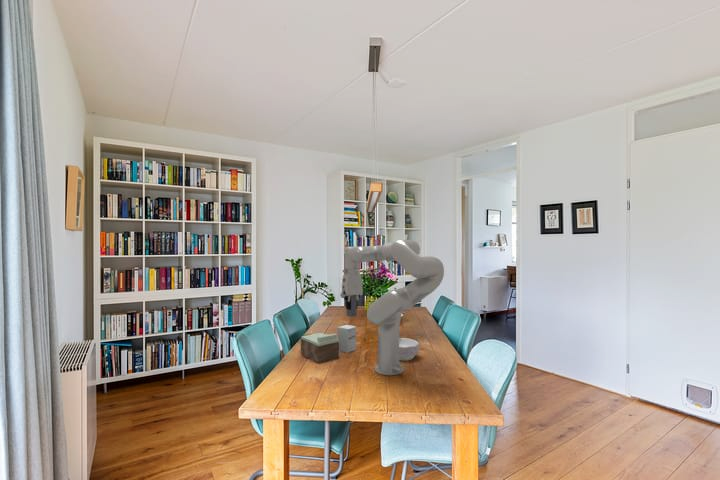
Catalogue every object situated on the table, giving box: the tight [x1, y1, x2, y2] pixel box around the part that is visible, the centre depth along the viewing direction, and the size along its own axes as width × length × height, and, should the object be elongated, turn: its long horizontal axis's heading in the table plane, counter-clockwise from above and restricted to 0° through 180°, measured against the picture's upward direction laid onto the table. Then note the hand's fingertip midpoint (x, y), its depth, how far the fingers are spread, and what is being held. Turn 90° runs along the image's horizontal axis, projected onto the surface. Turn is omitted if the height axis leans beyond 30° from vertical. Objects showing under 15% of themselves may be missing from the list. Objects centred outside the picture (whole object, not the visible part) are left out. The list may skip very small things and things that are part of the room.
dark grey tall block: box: [346, 295, 358, 318], centre depth 172 cm, size 3×3×10 cm
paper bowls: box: [399, 337, 420, 362], centre depth 175 cm, size 15×15×8 cm
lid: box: [300, 332, 339, 346], centre depth 175 cm, size 16×12×4 cm
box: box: [300, 333, 340, 365], centre depth 178 cm, size 22×12×8 cm, turn 39°
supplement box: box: [337, 324, 357, 354], centre depth 186 cm, size 7×7×13 cm
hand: (351, 308), depth 172 cm, fingers closed on dark grey tall block, 3 cm apart
